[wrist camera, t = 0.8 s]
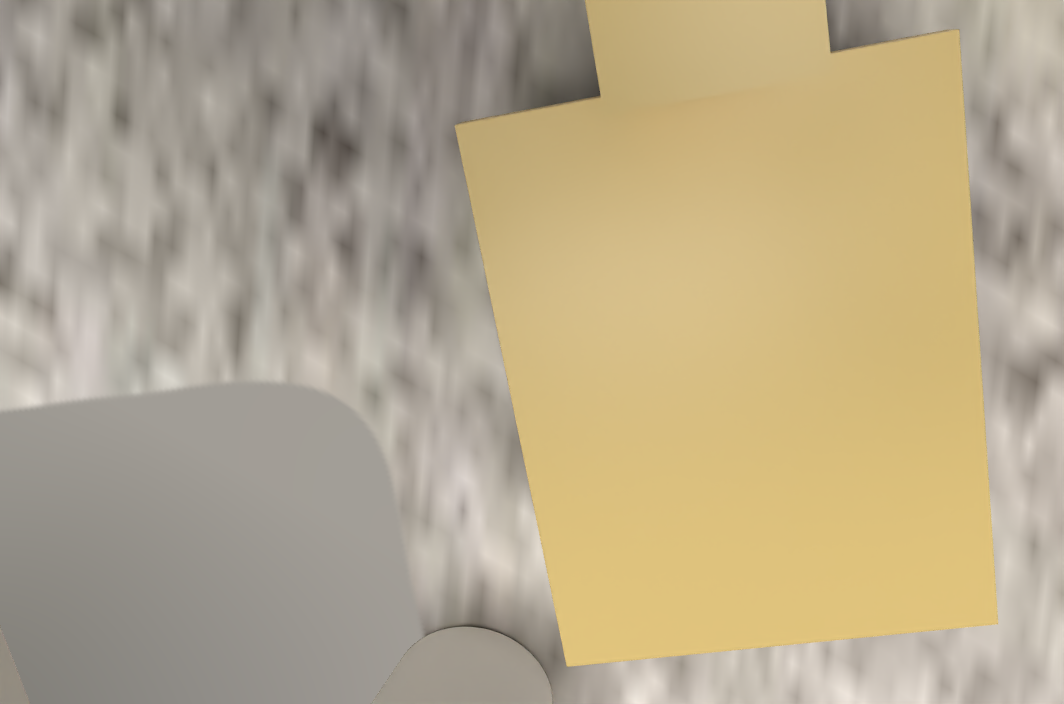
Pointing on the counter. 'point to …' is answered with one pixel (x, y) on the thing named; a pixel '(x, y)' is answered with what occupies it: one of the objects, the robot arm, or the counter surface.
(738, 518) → the lid
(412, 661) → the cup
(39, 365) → the counter surface
